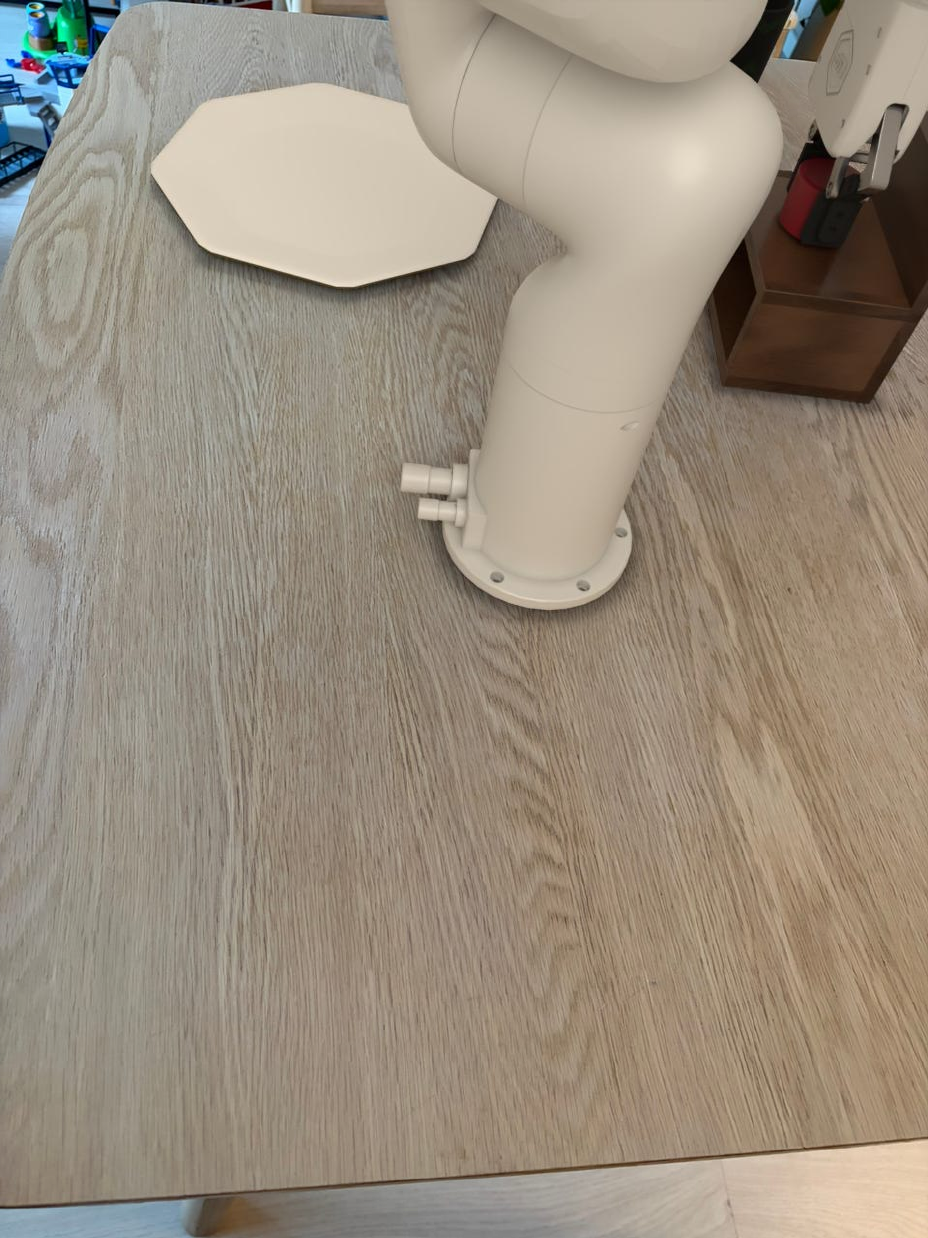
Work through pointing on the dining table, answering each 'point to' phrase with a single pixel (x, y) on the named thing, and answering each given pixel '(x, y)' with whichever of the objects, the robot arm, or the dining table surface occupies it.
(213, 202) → the plate
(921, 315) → the shelf
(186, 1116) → the dining table surface
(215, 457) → the dining table surface
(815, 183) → the cap
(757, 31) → the cup
